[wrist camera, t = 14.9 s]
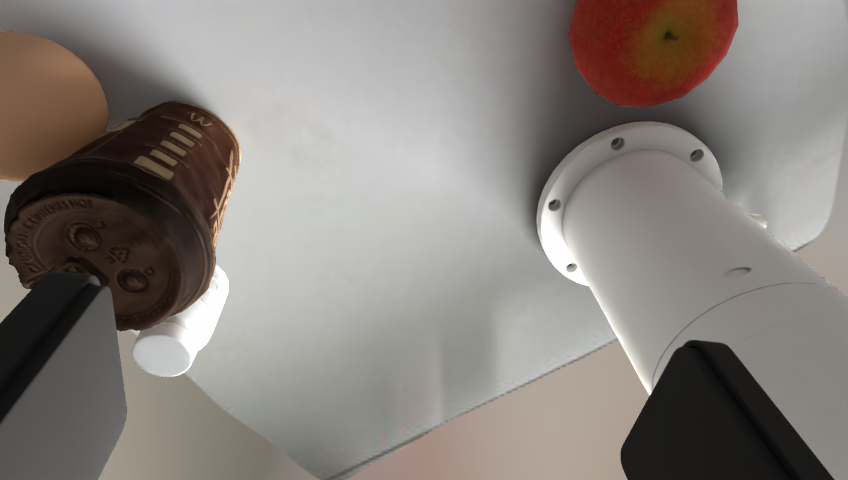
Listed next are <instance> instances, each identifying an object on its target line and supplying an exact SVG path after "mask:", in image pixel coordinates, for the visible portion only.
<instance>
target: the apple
mask: <svg viewBox="0 0 848 480" xmlns="http://www.w3.org/2000/svg"><path fill="white" fill-rule="evenodd" d="M737 27H738V11H737V0H577V2H576V5H575V9H574V13H573V16H572V20H571V24H570V28H569V32H568V37H569V42H570V46H571V50H572V54H573V58H574V62H575V66H576V68H577V69H578V71H579V72H580V73H581V75H582V76H583V78H584V79H585V81H586V82H587V84H588V85H589V86H590V88H591V89H592V90H593V91H594V92H595V93H596V94H598V95H600V96H601V97H603V98H605V99H607V100H609V101H611V102H613V103H614V104H616V105H618V106H632V107H653V106H656V105H659V104H662V103H665V102H669V101H672V100H675V99H678V98H681V97H683V96H684V95H686V94H687V93H688V92H690V91H691V90H692V89H694V88H695V87H697V86H698V85H699V84H701V83H702V82H703V81H705V80H706V79H707V78H708V77H709V75H710V74H711V73H712V72H713V70H714V69H715V68H716V67H717V65H718V64H719V63H720V62H721V60H722V59H723V58H724V57H725V55H726V54H727V52H728V49H729V47H730V44H731V42H732V39H733V37H734V34H735V32H736V29H737Z"/></svg>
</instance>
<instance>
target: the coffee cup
mask: <svg viewBox="0 0 848 480" xmlns="http://www.w3.org/2000/svg"><path fill="white" fill-rule="evenodd" d="M240 159H241V148H240V146H239V142H238V140H237V138H236V136H235V134H234V133H233V132H232V130H231V129H230V128H229V127H228V126H227V125H225V124H224V123H223V122H222V121H221V120H220V119H219V118H218V117H217V116H215V115H214V114H212V113H211V112H209V111H207V110H206V109H203V108H201V107H199V106H196V105H193V104H190V103H184V102H178V101H170V102H165V103H162V104H159V105H157V106H155V107H153V108H151V109H148V110H147V111H145V112H144V113H143V114H142V115H141V116H140V117H138V118H130V119H127V120H126V121H125V122H124V123H123V124H122V125H120V126H118V127H116V128H114V129H112V130H111V131H110V132H107V133H105V134H103V135H101V136H100V137H98V138H96V139H94V140H92V141H91V142H90V143H88V144H87V145H85V146H84V147H82V148H81V149H79V150H78V151H76V152H74V153H73V154H72V155H70V156H69V157H67V158H65V159H63V160H61V161H59V162H56V163H55V164H53V165H51V166H50V167H48V168H46V169H44V170H42V171H40V172H36V173H34V174H32V175H30V176H29V177H28V178H27V179H26V180H25V181H24V182H23V183H22V184H21V185H19V186H18V187H17V188H16V189H15V191H14V192H13V193H12V194H11V196H10V200H9V203H8V205H7V208H6V212H5V219H4V232H5V242H6V256H7V257H8V258H9V264H10V265H13V266H14V267H15V268H16V270H17V272H18V273H19V276H18V277H19V279H20V282H21V283H22V285H23V287H24V288H26V289H33V288H34V287H35V286H36V285H37V284H38V283H39V282H40V280H41V279H42V278H43V277H44V276H45V275H47V274H48V273H49V272H52V271H60V272H69V273H78V274H87V275H94V276H96V277H97V278H98V280H99V282H100V286H107V287H109V288H110V290H111V293H112V300H113V308H114V315H115V323H116V330H119V331H125V330H129V329H133V330H136V331H137V330H140V331H143V330H147V329H150V328H152V327H153V326H154V325H158V324H160V323H161V322H162V321H164V320H166V319H167V318H168V317H171V316H174V315H176V314H178V313H181V312H183V311H184V310H186V309H187V308H188V307H189V306H191V305H192V304H193V303H195V302H196V301H197V300H198V299H199V298H200V297H201V296H202V295H203V294H204V293H205V292H206V291H207V290H208V288H209V286H210V282H211V279H212V277H213V275H214V270H215V263H216V257H215V249H216V243H217V238H218V233H219V230H220V228H221V225H222V220H223V216H224V213H225V210H226V207H227V201H228V199H229V196H230V194H231V192H232V189H233V184H234V182H235V178H236V174H237V173H238V169H239V166H240Z"/></svg>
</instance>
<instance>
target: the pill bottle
mask: <svg viewBox="0 0 848 480" xmlns="http://www.w3.org/2000/svg"><path fill="white" fill-rule="evenodd" d="M228 291H229V282H228V279H227V277H226V275H225V273H224V272H223V270H222V269H221V268H219V267H218V266H217V265H216V264H215V270H214V275H213V277H212V279H211V282H210V286H209V288H208V290H207V291H206V292H205V293H204V294H203V295H202V296H201V297H200V298H199V299H198V300H197V301H196V302H195V303H193V304H192V305H191V306H189V307H188V308H187V309H186V310H184V311H183V312H181V313H178V314H176V315H174V316H171V317H168V318H167V319H166V320H164V321H162V322H161V323H160V324H158V325H154V326H153V327H152V328H150V329H147V330H143V331H141V332H140V333H139V335H138V337H137V339H136V341H135V343H134V345H133V348H132V355H133V359H134V360H135V362H136V363H137V365H138V366H139V367H140V368H142V369H143V370H144V371H146V372H148V373H150V374H153V375H156V376H161V377H172V376H177V375H180V374H182V373H184V372H185V371H187V370H188V368H189V367H190V366H191V364H192V362H193V359H194V357H195V355H196V353H197V351H198V350H200V349H201V348H202V347H204V346H205V345H206V344H207V342H208V341H209V339H210V337H211V335H212V333H213V330H214V328H215V325H216V322H217V320H218V317H219V315H220V312H221V310H222V307H223V305H224V302H225V300H226V297H227V294H228Z"/></svg>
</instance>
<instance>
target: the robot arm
mask: <svg viewBox="0 0 848 480" xmlns="http://www.w3.org/2000/svg"><path fill="white" fill-rule="evenodd" d="M615 138H616V140H615V141H614V142H612V141H613V140H614V139H615ZM552 200H553V201H552ZM550 201H552V202H550ZM536 220H537V232H538V236H539V239H540V242H541V245H542V247H543V249H544V251H545V253H546V255H547V257H548V259H549V260H550V261H551V263H552V264H553V265H554V267H555V268H556V269H557V270H559V271H560V272H561V273H562V274H563V275H565V276H566V277H568V278H570V279H572V280H574V281H576V282H578V283H581V284H584V285H588V286H589V287H590V289H591V291H592V293H593V294H594V296H595V298H596V300H597V302H598V303H599V305H600V307H601V309H602V311H603V312H604V314H605V316H606V318H607V320H608V321H609V323H610V325H611V327H612V329H613V331H614V332H615V334H616V336H617V338H618V340H619V341H620V343H621V345H622V347H623V349H624V350H625V352H626V354H627V356H628V358H629V359H630V361H631V363H632V365H633V367H634V368H635V370H636V372H637V374H638V376H639V378H640V379H641V381H642V383H643V385H644V387H645V388H646V390H647V392H648V394H649V398H648V400H647V402H646V404H645V405H644V407H643V409H642V411H641V413H640V415H639V416H638V418H637V420H636V422H635V424H634V426H633V428H632V429H631V431H630V433H629V435H628V437H627V438H626V440H625V442H624V444H623V446H622V449H621V464H622V467H623V470H624V472H625V474H626V477H627V479H628V480H848V297H847V296H845V295H844V294H843V293H842V292H841V291H839V290H838V289H837V288H836V287H834V286H833V285H832V284H831V283H830V282H828V281H827V280H826V279H825V278H824V277H822V276H821V275H820V274H819V273H818V272H817V271H815V270H814V269H813V268H812V267H810V266H809V265H808V264H807V263H806V262H804V261H803V260H802V259H801V258H800V257H799V256H797V255H796V254H795V253H794V252H793V251H791V250H790V249H789V248H788V247H787V246H785V245H784V244H783V243H782V242H781V241H779V240H778V239H777V238H776V237H775V236H773V235H772V234H771V233H770V232H769V231H767V230H766V227H767V219H766V217H765V216H763V215H760V214H753V213H746V212H745V211H743V210H742V209H741V208H740V207H739V206H737V205H736V204H735V203H734V202H733V201H731V200H730V199H729V198H728V197H727V196H725V195H724V194H723V186H722V175H721V172H720V169H719V166H718V163H717V160H716V159H715V157H714V156H713V154H712V153H711V151H710V150H709V148H708V147H707V146H705V145H704V144H703V143H702V142H701V141H700V140H699V139H698V138H696V137H695V136H693V135H692V134H690V133H689V132H687V131H686V130H684V129H681V128H679V127H676V126H673V125H671V124H667V123H660V122H654V121H647V122H632V123H627V124H623V125H618V126H615V127H612V128H610V129H607V130H605V131H602V132H600V133H597V134H596V135H594V136H592V137H591V138H589V139H587V140H586V141H584V142H582V143H581V144H579V145H578V146H577V147H576V148H575V149H574V150H572V151H571V152H570V153H569V154H568V155H567V156H565V158H564V159H563V160H562V161H561V162H560V163H559V165H558V166H557V167H556V168H555V169H554V171H553V172H552V174H551V176H550V177H549V179H548V181H547V182H546V184H545V186H544V188H543V191H542V194H541V197H540V199H539V203H538V209H537V216H536ZM121 369H122V368H121V361H120V354H119V346H118V338H117V330H116V323H115V315H114V308H113V300H112V293H111V290H110V288H109V287H107V286H100V282H99V280H98V278H97V277H96V276H94V275H87V274H78V273H69V272H60V271H52V272H49V273H48V274H47V275H45V276H44V277H43V278H42V279H41V280H40V282H39V283H38V284H37V285H36V286H35V287H34V288H33V289H32V290H31V291H30V292H29V293H28V294H27V295H26V297H25V298H24V299H23V300H22V301H21V302H20V303H19V304H18V305H17V306H16V307H15V308H14V309H13V310H12V311H11V313H10V314H9V315H8V316H7V317H6V318H5V319H4V320H3V321H2V322H1V323H0V480H98V478H99V476H100V474H101V472H102V470H103V469H104V466H105V464H106V463H107V461H108V459H109V457H110V455H111V453H112V450H113V449H114V447H115V445H116V443H117V440H118V439H119V437H120V435H121V432H122V430H123V428H124V425H125V421H126V414H127V407H126V399H125V391H124V384H123V378H122V377H123V376H122V370H121Z"/></svg>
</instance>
